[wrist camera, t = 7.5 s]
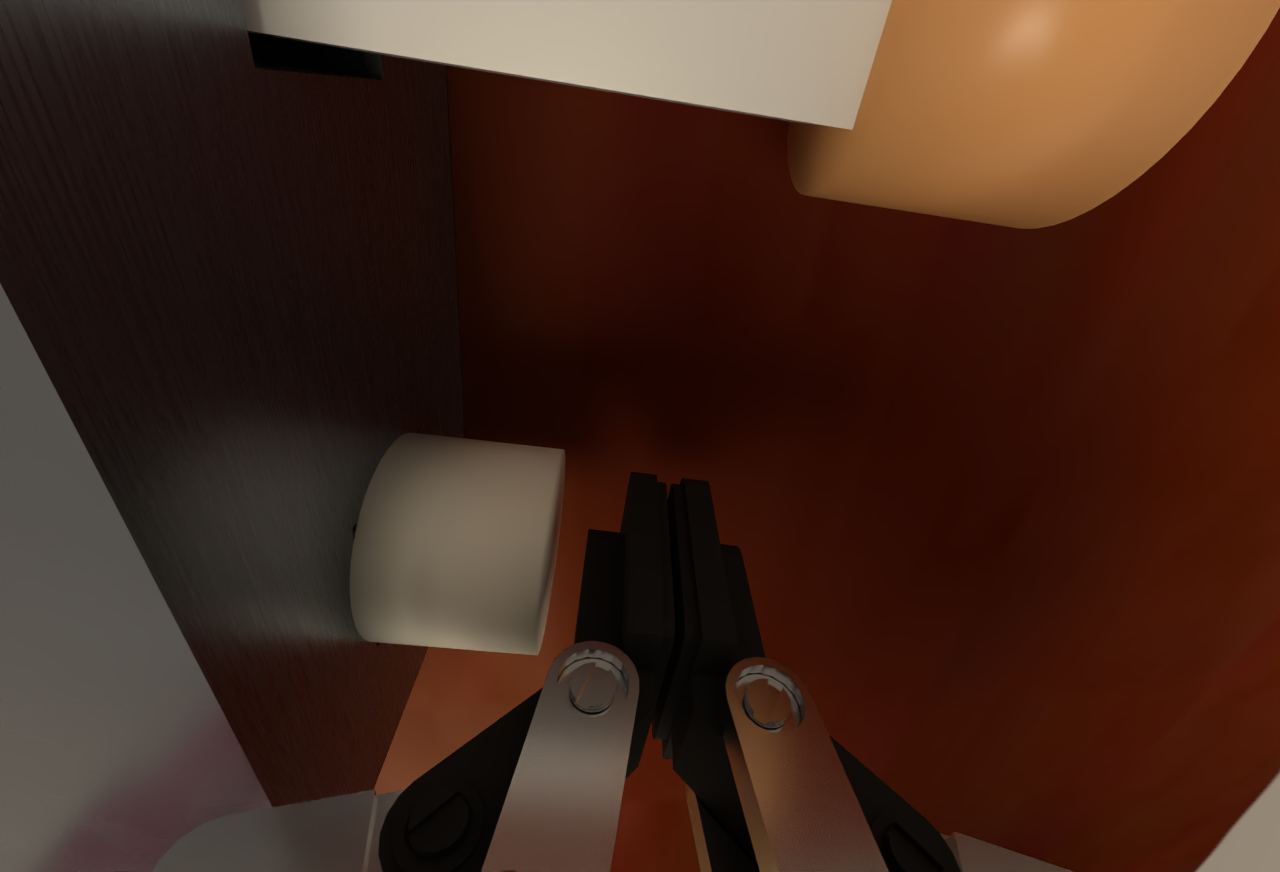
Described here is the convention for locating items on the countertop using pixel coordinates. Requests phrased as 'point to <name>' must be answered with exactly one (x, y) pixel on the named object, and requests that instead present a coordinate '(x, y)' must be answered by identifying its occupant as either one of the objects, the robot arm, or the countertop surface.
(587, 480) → the countertop surface
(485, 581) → the knob ivory
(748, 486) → the countertop surface
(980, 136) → the knob terracotta
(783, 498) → the countertop surface
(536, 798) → the robot arm
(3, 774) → the console
